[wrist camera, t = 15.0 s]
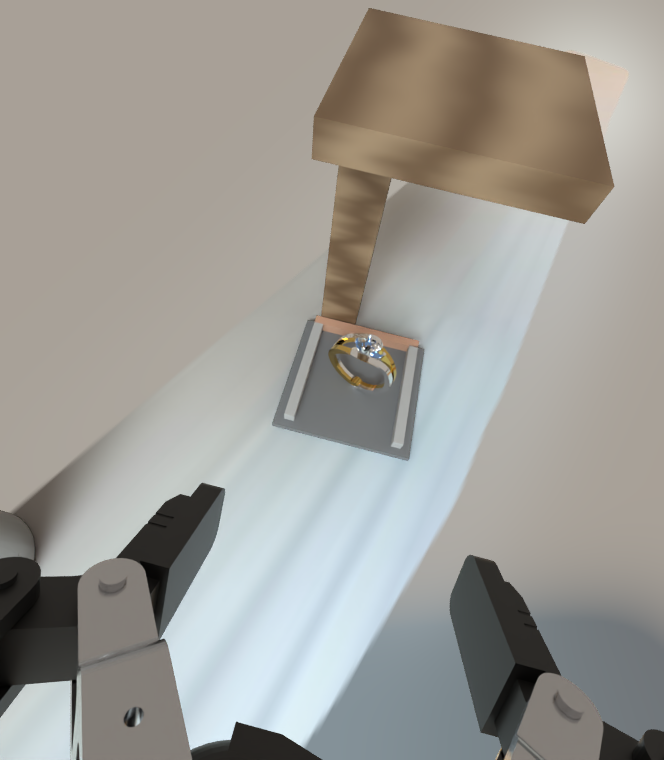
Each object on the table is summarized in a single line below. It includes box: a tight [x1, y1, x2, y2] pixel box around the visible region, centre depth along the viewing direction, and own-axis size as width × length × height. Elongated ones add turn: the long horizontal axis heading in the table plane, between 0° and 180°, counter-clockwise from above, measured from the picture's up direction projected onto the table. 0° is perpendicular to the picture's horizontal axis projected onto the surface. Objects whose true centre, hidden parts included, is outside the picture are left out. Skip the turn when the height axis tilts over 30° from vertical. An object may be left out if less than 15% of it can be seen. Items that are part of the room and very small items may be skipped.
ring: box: [328, 333, 396, 395], centre depth 38 cm, size 7×3×8 cm, turn 54°
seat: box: [272, 315, 424, 461], centre depth 41 cm, size 14×14×2 cm
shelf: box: [312, 8, 614, 325], centre depth 33 cm, size 14×14×27 cm
